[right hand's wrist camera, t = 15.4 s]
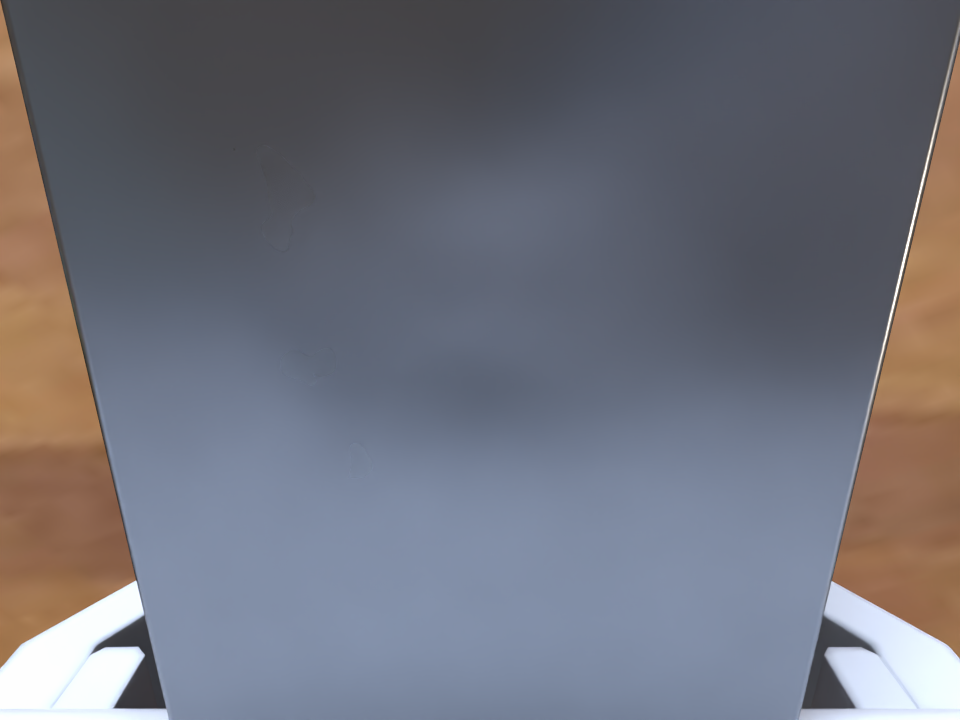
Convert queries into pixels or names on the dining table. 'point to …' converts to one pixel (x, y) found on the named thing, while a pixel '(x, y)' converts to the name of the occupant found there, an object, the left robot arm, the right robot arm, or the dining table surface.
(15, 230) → the dining table surface
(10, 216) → the dining table surface
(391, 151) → the bar
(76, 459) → the dining table surface
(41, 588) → the dining table surface
